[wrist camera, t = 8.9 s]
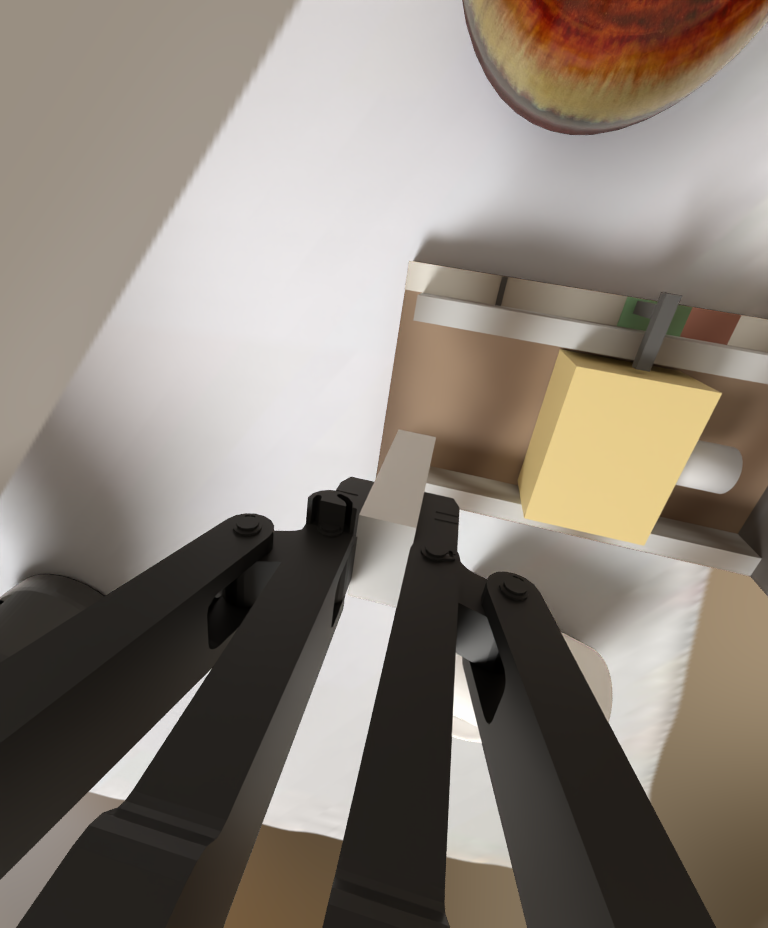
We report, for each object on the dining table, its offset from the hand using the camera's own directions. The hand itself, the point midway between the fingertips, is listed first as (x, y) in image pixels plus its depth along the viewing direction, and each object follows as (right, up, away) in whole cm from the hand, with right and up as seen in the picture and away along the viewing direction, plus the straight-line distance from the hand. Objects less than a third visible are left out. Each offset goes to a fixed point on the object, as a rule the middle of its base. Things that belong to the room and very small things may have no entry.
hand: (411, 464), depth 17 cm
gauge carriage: (+12, +3, +6) cm, 14 cm away
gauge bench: (+11, +2, +8) cm, 14 cm away
